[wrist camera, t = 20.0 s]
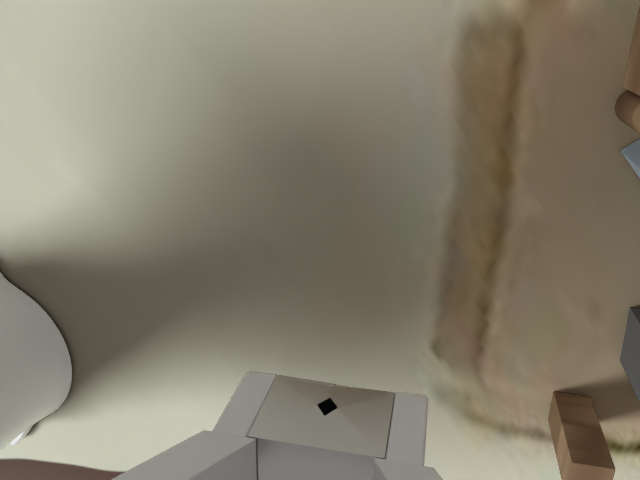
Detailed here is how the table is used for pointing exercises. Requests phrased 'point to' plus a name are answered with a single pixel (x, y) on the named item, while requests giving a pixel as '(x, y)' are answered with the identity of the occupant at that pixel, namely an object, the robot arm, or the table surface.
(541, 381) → the table surface
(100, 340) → the table surface
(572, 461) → the block
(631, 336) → the block
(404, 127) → the table surface
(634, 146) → the gate
